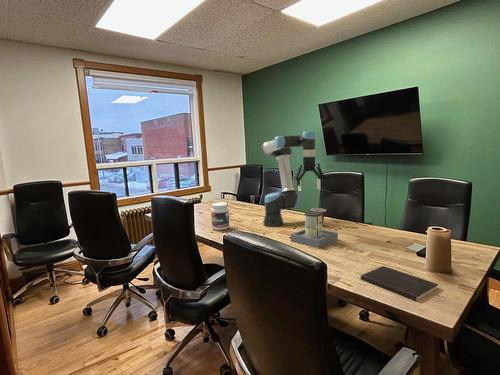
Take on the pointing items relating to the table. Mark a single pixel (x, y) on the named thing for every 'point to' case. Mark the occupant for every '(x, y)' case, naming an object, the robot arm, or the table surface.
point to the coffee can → (313, 224)
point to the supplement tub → (220, 216)
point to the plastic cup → (320, 211)
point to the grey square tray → (314, 242)
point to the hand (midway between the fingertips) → (309, 189)
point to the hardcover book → (399, 282)
